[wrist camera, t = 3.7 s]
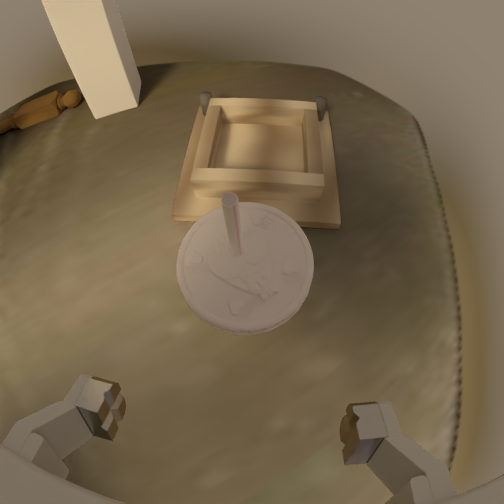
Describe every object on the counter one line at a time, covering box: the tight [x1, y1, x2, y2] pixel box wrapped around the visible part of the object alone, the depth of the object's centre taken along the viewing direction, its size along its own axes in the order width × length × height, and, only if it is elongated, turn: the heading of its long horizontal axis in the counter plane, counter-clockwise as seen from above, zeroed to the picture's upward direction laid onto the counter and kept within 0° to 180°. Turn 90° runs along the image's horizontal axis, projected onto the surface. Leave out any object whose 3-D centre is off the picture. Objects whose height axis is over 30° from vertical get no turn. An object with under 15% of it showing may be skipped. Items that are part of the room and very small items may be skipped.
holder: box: [172, 92, 341, 229], centre depth 26 cm, size 14×14×4 cm
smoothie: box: [176, 192, 314, 335], centre depth 16 cm, size 6×6×14 cm
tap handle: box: [0, 89, 81, 135], centre depth 32 cm, size 3×3×30 cm
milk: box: [42, 0, 141, 119], centre depth 23 cm, size 6×6×22 cm
